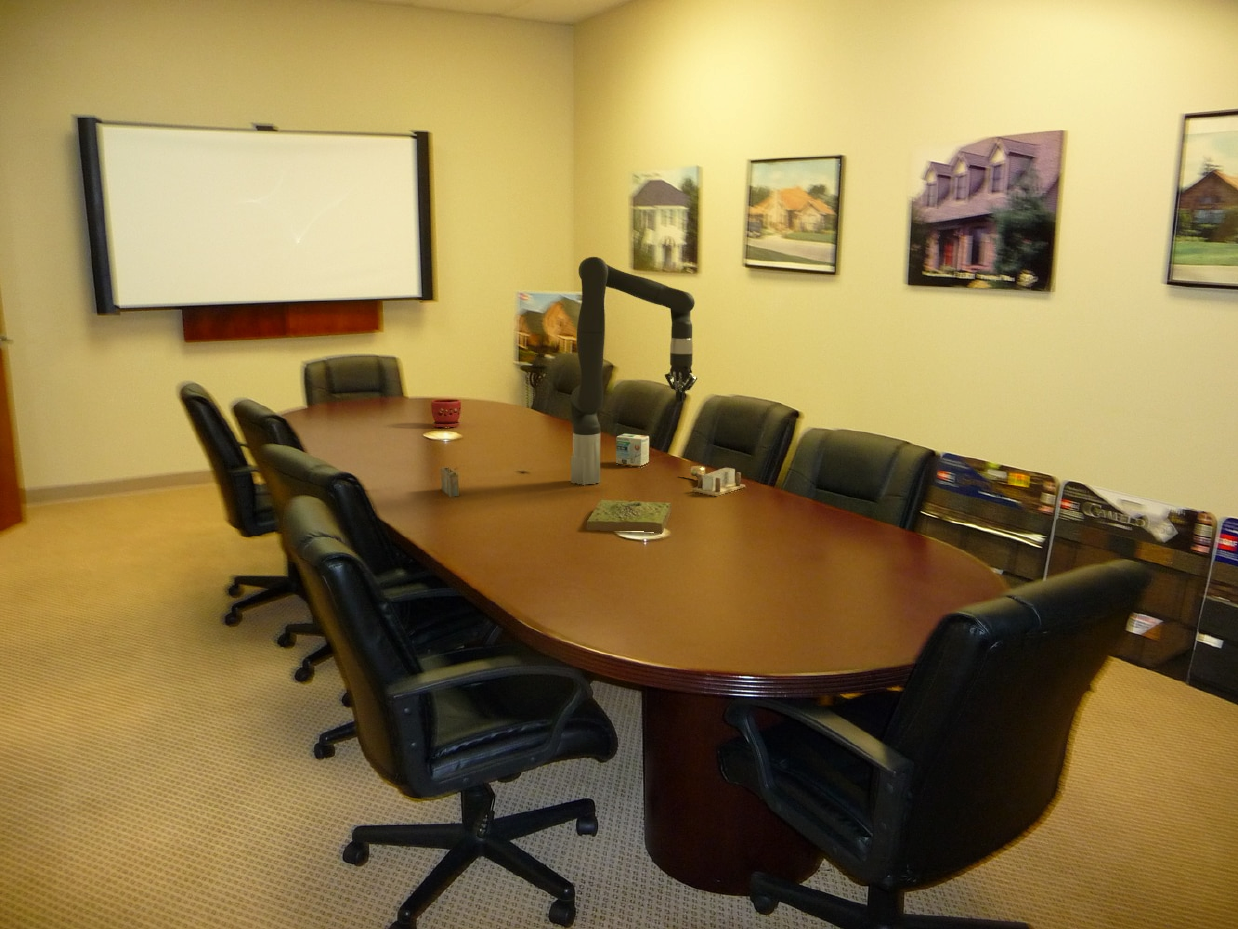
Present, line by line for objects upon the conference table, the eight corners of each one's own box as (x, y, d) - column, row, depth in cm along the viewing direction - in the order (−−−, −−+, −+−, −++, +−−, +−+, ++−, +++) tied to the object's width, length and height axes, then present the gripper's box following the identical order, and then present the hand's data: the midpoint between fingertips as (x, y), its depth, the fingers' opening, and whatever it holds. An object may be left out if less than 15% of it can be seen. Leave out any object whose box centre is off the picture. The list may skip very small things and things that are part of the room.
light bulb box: (615, 464, 360) (615, 436, 358) (623, 461, 366) (624, 433, 364) (641, 467, 355) (641, 438, 353) (649, 464, 361) (649, 435, 359)
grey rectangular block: (711, 491, 316) (712, 476, 315) (702, 489, 318) (703, 474, 317) (734, 483, 327) (734, 469, 326) (725, 482, 329) (726, 467, 328)
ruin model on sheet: (460, 497, 313) (459, 468, 310) (450, 498, 311) (449, 469, 309) (451, 489, 323) (450, 461, 321) (442, 490, 321) (441, 462, 319)
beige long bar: (711, 486, 326) (711, 478, 325) (696, 486, 325) (696, 478, 325) (703, 474, 344) (704, 465, 343) (689, 474, 343) (689, 466, 343)
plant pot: (466, 427, 432) (465, 401, 429) (438, 430, 425) (437, 403, 422) (454, 423, 442) (453, 397, 440) (427, 425, 436) (426, 399, 433)
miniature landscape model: (586, 531, 276) (586, 514, 275) (600, 510, 299) (600, 494, 298) (662, 535, 273) (662, 518, 272) (671, 513, 296) (671, 497, 295)
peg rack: (715, 497, 314) (716, 480, 313) (692, 491, 320) (692, 475, 319) (745, 488, 325) (745, 472, 324) (722, 483, 332) (722, 467, 330)
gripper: (659, 350, 329) (658, 401, 333) (689, 353, 320) (688, 406, 324) (673, 349, 334) (672, 399, 338) (703, 352, 326) (702, 403, 329)
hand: (680, 402), depth 331 cm, fingers closed
